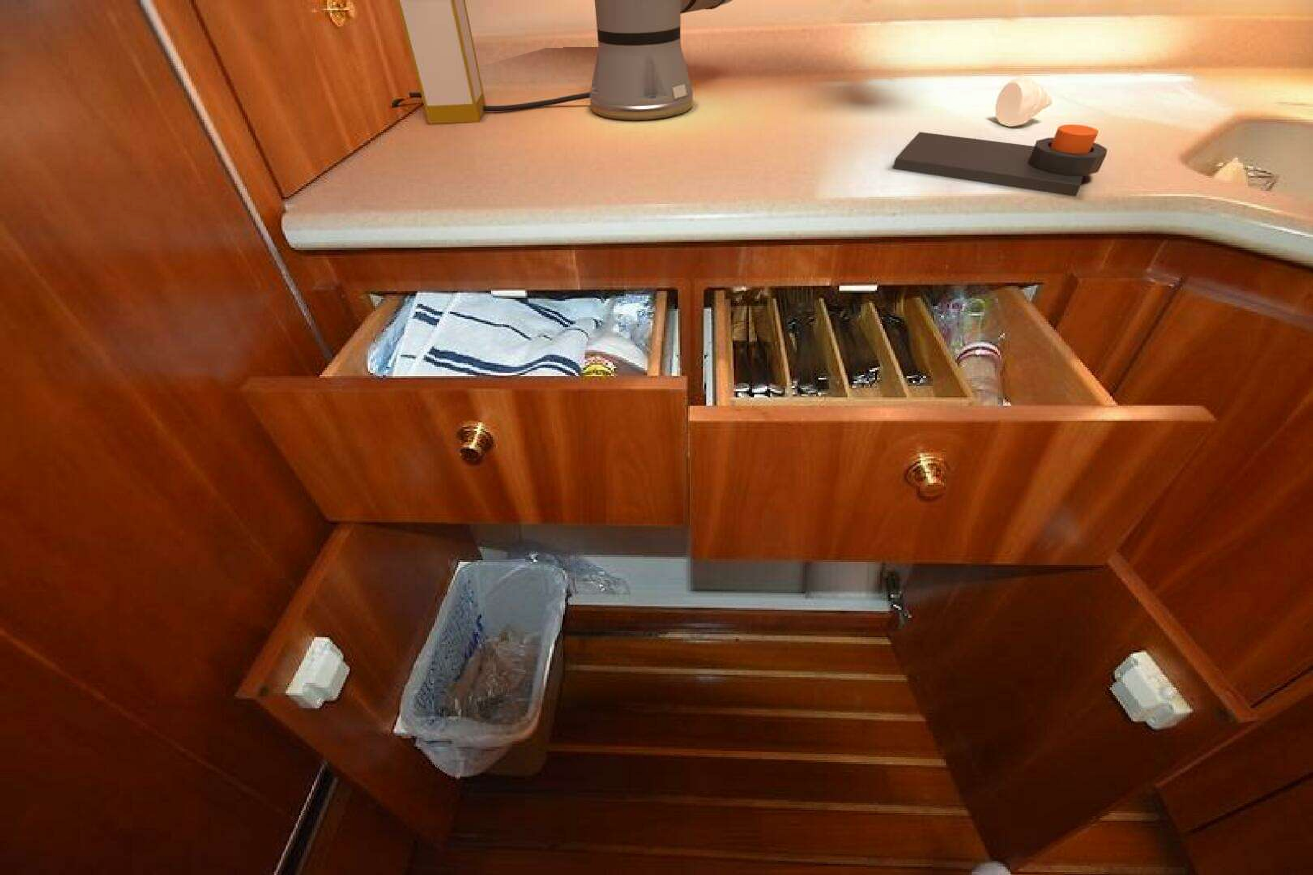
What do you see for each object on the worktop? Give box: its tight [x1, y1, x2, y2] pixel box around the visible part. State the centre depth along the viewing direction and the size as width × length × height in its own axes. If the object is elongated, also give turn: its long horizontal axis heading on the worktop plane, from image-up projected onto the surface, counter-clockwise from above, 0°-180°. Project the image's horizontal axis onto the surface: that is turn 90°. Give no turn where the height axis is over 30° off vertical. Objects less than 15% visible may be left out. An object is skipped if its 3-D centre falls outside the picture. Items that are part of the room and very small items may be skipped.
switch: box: [1050, 124, 1099, 154], centre depth 60 cm, size 4×4×2 cm
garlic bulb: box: [995, 76, 1053, 127], centre depth 75 cm, size 6×6×5 cm
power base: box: [892, 131, 1108, 198], centre depth 64 cm, size 19×11×3 cm, turn 59°
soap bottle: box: [395, 0, 487, 125], centre depth 77 cm, size 7×13×24 cm, turn 4°
